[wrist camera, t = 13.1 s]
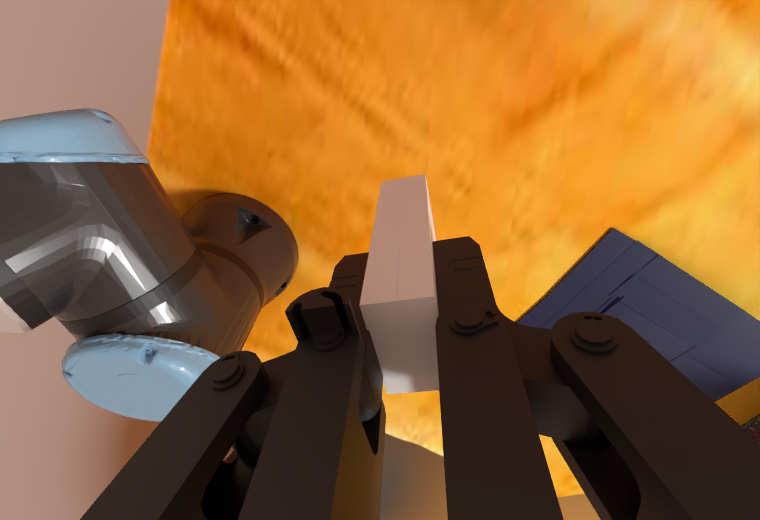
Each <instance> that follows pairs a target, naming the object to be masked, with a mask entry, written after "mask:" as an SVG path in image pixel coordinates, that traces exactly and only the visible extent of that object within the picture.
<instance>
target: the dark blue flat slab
mask: <svg viewBox="0 0 760 520" xmlns="http://www.w3.org/2000/svg"><path fill="white" fill-rule="evenodd" d="M578 312H595V313H603V314H606V315H609V316H612V317H615V318H617V319H619V320H621V321H622V322H624V323H625V324H627V325H628V326H630V327H631V328H632V329H633V330H634V331H636V332H637V333H638V334H639V335H640V336H641V337H642V338H643V339H644V340H646V341H647V342H648V343H649V344H650V345H651V346H652V347H653V348H654V349H656V350H657V351H658V352H659V353H660V354H661V355H662V356H663V357H664V358H666V359H667V360H668V361H669V362H670V363H671V364H672V365H673V366H674V367H675V368H677V369H678V370H679V371H680V372H681V373H682V374H683V375H684V376H685V377H687V378H688V379H689V380H690V381H691V382H692V383H693V384H694V385H695V386H697V387H698V388H699V389H700V390H701V391H702V392H703V393H704V394H705V395H707V396H708V397H709V398H710V399H711V400H712V401H713V402H715V401H717V400H719V399H721V398H722V397H724V396H726V395H728V394H730V393H731V392H733V391H735V390H737V389H738V388H740V387H742V386H744V385H746V384H747V383H749V382H751V381H753V380H755V379H756V378H758V377H760V321H758V320H757V319H755V318H754V317H753V316H751V315H750V314H748V313H747V312H746V311H744V310H743V309H741V308H740V307H738V306H737V305H735V304H734V303H732V302H730V301H729V300H727V299H726V298H724V297H723V296H721V295H720V294H718V293H717V292H715V291H714V290H712V289H711V288H709V287H708V286H706V285H704V284H703V283H701V282H700V281H698V280H697V279H695V278H694V277H692V276H691V275H689V274H688V273H686V272H685V271H683V270H682V269H680V268H678V267H677V266H675V265H674V264H672V263H671V262H669V261H668V260H666V259H665V258H663V257H662V256H661V255H659V254H657V253H656V252H654V251H653V250H651V249H650V248H648V247H647V246H645V245H643V244H642V243H640V242H639V241H635V240H633V239H631V238H630V237H628V236H626V235H625V234H623V233H621V232H619V231H618V230H616V229H614V228H613V229H612V230H611V231H610V232H609V233H608V234H607V235H606V236H605V237H604V238H603V239H602V240H601V241H600V242H599V243H598V244H597V245H596V247H595V248H594V249H593V250H592V251H591V252H590V253H589V254H588V255H587V256H586V257H585V258H584V259H583V260H582V261H581V262H580V263H579V264H578V265H577V266H576V267H575V268H574V269H573V270H572V271H571V272H570V273H569V274H568V275H567V276H566V277H565V278H564V279H563V280H562V281H561V283H560V284H559V285H558V286H557V287H556V288H555V289H554V290H553V291H552V292H551V293H550V294H549V295H548V296H547V297H546V298H545V299H544V300H543V301H541V302H540V303H539V304H538V305H537V306H536V307H535V308H533V309H532V310H531V311H530V312H529V313H528V314H527V315H525V316H524V317H523V318H522V319H521V320H520V321H519V322H517V323H519V324H522V325H526V326H531V327H538V328H546V329H552V327H553V325H554V324H555V323H556V322H557V321H558V320H559V319H560V318H562V317H564V316H566V315H569V314H571V313H578Z"/></svg>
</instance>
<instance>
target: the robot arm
mask: <svg viewBox="0 0 760 520" xmlns="http://www.w3.org/2000/svg"><path fill="white" fill-rule="evenodd" d="M149 164H150V161H149V159H148V158H147V157H145V156H143V155H142V153H141V152H140V150H139V149H138V148H137V146H136V145H135V143H134V142H133V140H132V139H131V137H130V136H129V134H128V133H127V132H126V130H125V128H124V127H123V125H122V124H121V123H120V122H119V121H118V120H117V119H116V118H114V117H113V116H111V115H110V114H108V113H106V112H103V111H100V110H96V109H76V110H66V111H58V112H51V113H44V114H37V115H31V116H25V117H19V118H13V119H8V120H2V121H0V332H19V333H26V332H28V331H30V330H32V329H34V328H36V327H37V326H39V325H41V324H42V323H44V322H46V321H47V320H49V319H51V318H52V317H54V316H55V317H56V318H57V319H58V320H59V321H60V322H61V323H62V324H63V325H64V326H65V327H66V328H67V330H68V331H69V332H70V333H71V334H72V335H73V336H74V338H75V339H76V340H77V342H75V343H73V344H72V345H71V346H70V347H69V348H68V349H67V351H66V355H65V357H64V358H63V360H62V368H63V371H62V373H63V376H64V379H65V380H66V381H67V383H68V384H69V386H70V387H71V388H72V389H73V390H74V391H75V392H77V393H78V394H79V395H81V396H82V397H84V398H85V399H87V400H88V401H90V402H92V403H93V404H95V405H97V406H99V407H102V408H104V409H106V410H109V411H111V412H114V413H117V414H120V415H124V416H128V417H132V418H136V419H142V420H149V421H161V423H160V424H159V425H158V426H157V427H156V429H155V430H154V431H153V432H152V433H151V435H150V436H149V437H148V438H147V439H146V441H145V442H144V443H143V444H142V445H141V447H140V448H139V449H138V450H137V451H136V453H135V454H134V455H133V456H132V458H131V459H130V460H129V461H128V462H127V464H126V465H125V466H124V467H123V469H122V470H121V471H120V472H119V473H118V474H117V476H116V477H115V478H114V479H113V480H112V482H111V483H110V484H109V485H108V487H107V488H106V489H105V490H104V491H103V492H102V494H101V495H100V496H99V497H98V498H97V500H96V501H95V502H94V503H93V504H92V506H91V507H90V508H89V509H88V510H87V512H86V513H85V514H84V515H83V516H82V518H81V519H80V520H379V517H380V502H381V486H382V470H383V453H384V438H385V423H386V413H385V407H384V404H383V401H382V386H383V383H384V386H385V389H386V392H387V394H396V393H409V392H421V391H433V390H439V392H440V407H441V422H442V437H443V452H444V467H445V481H446V497H447V512H448V520H563V516H562V513H561V509H560V506H559V502H558V499H557V496H556V492H555V489H554V485H553V482H552V479H551V475H550V472H549V468H548V465H547V461H546V458H545V455H544V451H543V448H542V444H541V441H540V438H539V434H540V435H544V436H548V437H552V440H553V442H554V443H555V445H556V447H557V448H558V450H559V451H560V453H561V455H562V456H563V458H564V460H565V461H566V463H567V465H568V466H569V468H570V470H571V471H572V473H573V475H574V476H575V478H576V480H577V481H578V483H579V484H580V486H581V488H582V489H583V491H584V493H585V494H586V496H587V497H588V499H589V501H590V502H591V504H592V506H593V507H594V509H595V510H596V512H597V514H598V516H599V517H600V519H601V520H760V443H759V442H758V441H756V440H755V439H754V438H753V437H752V436H751V435H750V434H749V433H748V432H747V431H745V430H744V429H743V428H742V427H741V426H740V425H739V424H738V423H737V422H735V421H734V420H733V419H732V418H731V417H730V416H729V415H728V414H727V413H725V412H724V411H723V410H722V409H721V408H720V407H719V406H718V405H717V404H715V403H714V402H713V401H712V400H711V399H710V398H709V397H708V396H707V395H705V394H704V393H703V392H702V391H701V390H700V389H699V388H698V387H697V386H695V385H694V384H693V383H692V382H691V381H690V380H689V379H688V378H687V377H685V376H684V375H683V374H682V373H681V372H680V371H679V370H678V369H677V368H675V367H674V366H673V365H672V364H671V363H670V362H669V361H668V360H667V359H666V358H664V357H663V356H662V355H661V354H660V353H659V352H658V351H657V350H656V349H654V348H653V347H652V346H651V345H650V344H649V343H648V342H647V341H646V340H644V339H643V338H642V337H641V336H640V335H639V334H638V333H637V332H636V331H634V330H633V329H632V328H631V327H630V326H628V325H627V324H625V323H624V322H622V321H621V320H619V319H617V318H615V317H612V316H609V315H606V314H603V313H595V312H578V313H571V314H569V315H566V316H564V317H562V318H560V319H559V320H558V321H557V322H556V323H555V324H554V325H553V327H552V329H546V328H538V327H531V326H526V325H522V324H519V323H517V322H514V321H512V320H510V319H509V318H507V317H506V316H504V315H503V314H502V313H501V312H500V310H499V309H498V307H497V305H496V302H495V299H494V295H493V291H492V288H491V284H490V281H489V277H488V274H487V270H486V268H485V263H484V260H483V256H482V252H481V249H480V245H479V244H478V243H476V242H475V241H474V240H473V239H472V238H470V237H469V236H467V237H460V238H453V239H447V240H440V241H436V238H435V231H434V225H433V219H432V213H431V206H430V200H429V194H428V188H427V181H426V175H425V174H423V175H417V176H412V177H406V178H401V179H395V180H390V181H384V182H382V183H381V188H380V194H379V199H378V205H377V210H376V216H375V222H374V227H373V233H372V238H371V244H370V249H369V252H368V253H361V254H354V255H348V256H344V257H343V259H342V260H341V261H340V262H339V263H338V264H337V265H336V266H335V269H334V272H333V275H332V278H331V279H332V281H331V282H330V285H329V287H323V288H319V289H315V290H311V291H309V292H307V293H305V294H303V295H301V296H299V297H298V298H297V299H295V300H294V301H293V302H292V303H291V304H290V305H289V307H288V308H287V309H286V311H285V313H286V316H287V318H288V320H289V322H290V324H291V327H292V329H293V331H294V333H295V336H296V338H297V340H298V344H297V347H296V350H294V351H292V352H290V353H287V354H285V355H282V356H280V357H277V358H274V359H271V360H268V361H266V362H263V363H261V361H260V359H259V358H258V356H257V355H256V354H255V353H253V352H250V351H241V350H242V348H243V346H244V343H245V341H246V339H247V337H248V335H249V333H250V331H251V329H252V327H253V325H254V322H255V320H256V318H257V316H258V314H259V312H260V310H261V309H262V308H263V307H264V306H265V305H267V304H268V303H269V302H270V301H272V300H273V299H274V298H275V297H277V296H278V295H279V294H280V293H282V292H283V291H284V290H285V289H286V287H287V286H288V285H289V283H290V281H291V279H292V277H293V275H294V273H295V271H296V268H297V264H298V247H297V243H296V240H295V238H294V235H293V233H292V231H291V230H290V228H289V227H288V225H287V224H286V223H285V221H284V220H283V219H282V218H281V217H280V216H279V215H278V214H277V213H275V212H274V211H273V210H272V209H270V208H269V207H267V206H266V205H264V204H262V203H261V202H259V201H256V200H254V199H251V198H249V197H245V196H241V195H236V194H217V195H212V196H209V197H206V198H204V199H202V200H200V201H199V202H197V203H196V204H195V205H193V206H192V207H191V208H190V209H189V210H188V211H187V212H186V213H185V214H184V215H183V216H182V217H180V215H179V214H178V212H177V210H176V209H175V207H174V205H173V204H172V202H171V201H170V199H169V197H168V195H167V194H166V192H165V190H164V189H163V187H162V185H161V184H160V182H159V180H158V179H157V177H156V175H155V173H154V172H153V170H152V168H151V167H150V165H149ZM231 447H232V448H233V449H234V450H233V452H232V454H231V455H230V456H229V457H228V458H227V459H226V460H224V461H223V459H224V458H225V456H226V454H227V453H228V451H229V450H230V448H231Z"/></svg>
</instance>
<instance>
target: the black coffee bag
mask: <svg viewBox="0 0 760 520" xmlns="http://www.w3.org/2000/svg"><path fill="white" fill-rule="evenodd" d="M741 427H742V428H743V429H744V430H745V431H747V432H748V433H749V434H750V435H751V436H752V437H753V438H754V439H755V440H756V441H758V442H759V443H760V414H759V415H758V416H756V417H755V418H753V419H752V420H750V421H749V422H747V423H746V424H744V425H743V426H741Z"/></svg>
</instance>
